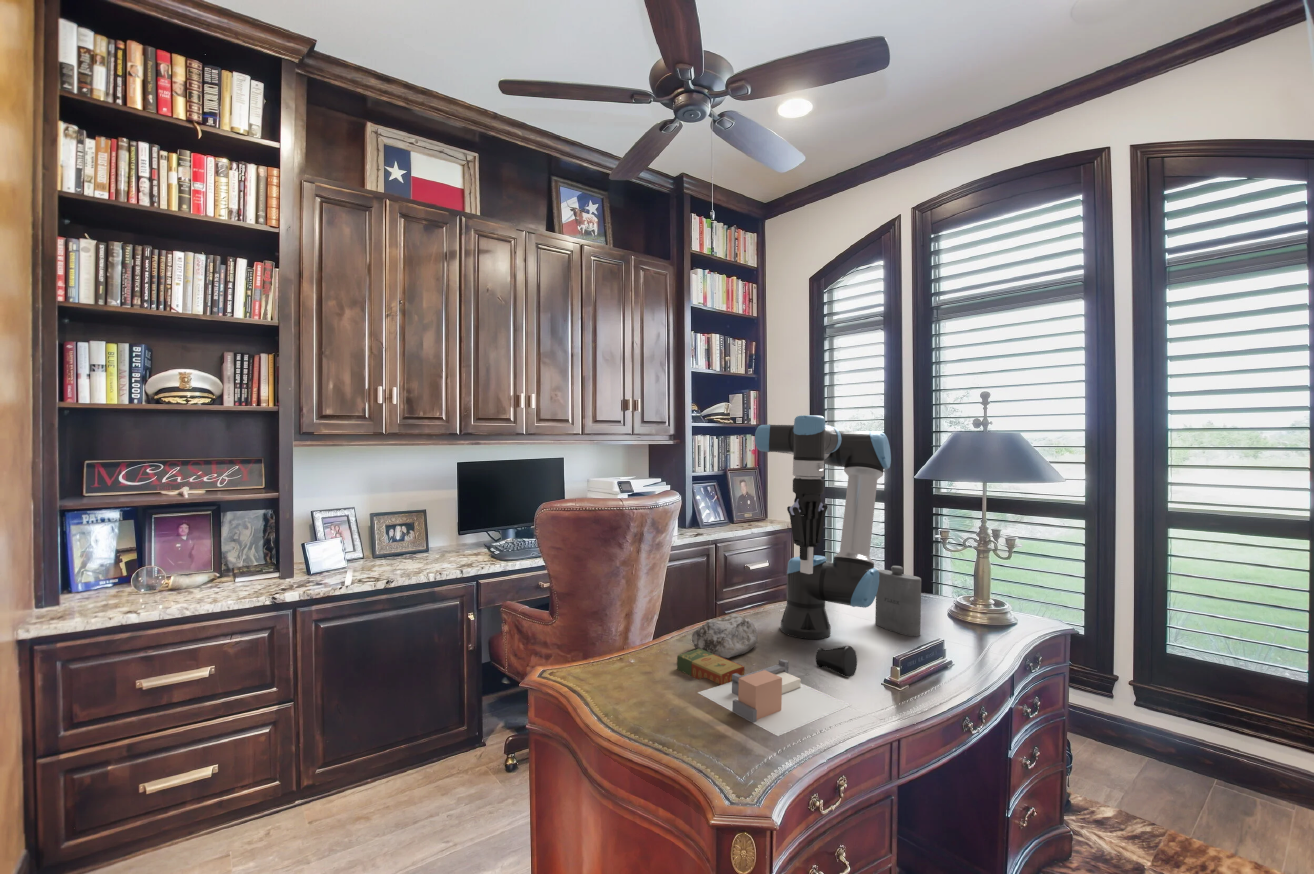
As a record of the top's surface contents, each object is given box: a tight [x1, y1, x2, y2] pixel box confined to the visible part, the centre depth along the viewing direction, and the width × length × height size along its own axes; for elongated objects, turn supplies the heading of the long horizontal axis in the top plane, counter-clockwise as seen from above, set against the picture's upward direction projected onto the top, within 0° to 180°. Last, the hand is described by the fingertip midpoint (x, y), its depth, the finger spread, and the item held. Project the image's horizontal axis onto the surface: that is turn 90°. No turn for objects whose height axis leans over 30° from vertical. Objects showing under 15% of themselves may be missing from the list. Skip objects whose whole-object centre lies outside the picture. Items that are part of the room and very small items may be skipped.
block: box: [738, 670, 782, 719], centre depth 126 cm, size 5×8×7 cm, turn 127°
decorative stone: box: [690, 612, 758, 660], centre depth 167 cm, size 20×14×10 cm
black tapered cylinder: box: [815, 645, 858, 678], centre depth 156 cm, size 8×18×8 cm
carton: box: [676, 648, 745, 686], centre depth 148 cm, size 8×16×4 cm, turn 40°
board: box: [697, 658, 852, 737], centre depth 132 cm, size 24×24×5 cm
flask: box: [874, 565, 922, 637], centre depth 187 cm, size 15×6×20 cm, turn 34°
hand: (806, 572), depth 147 cm, fingers closed
